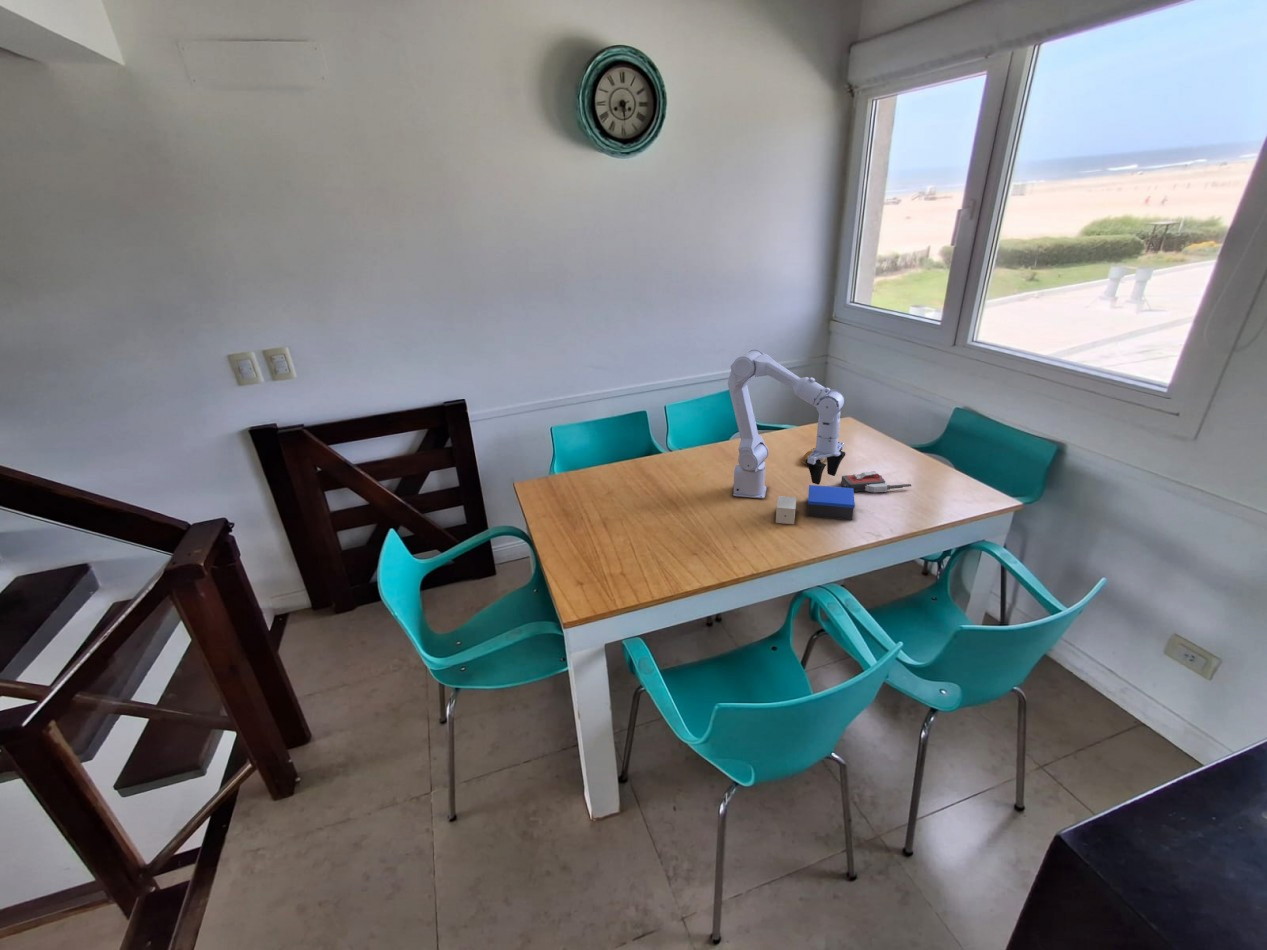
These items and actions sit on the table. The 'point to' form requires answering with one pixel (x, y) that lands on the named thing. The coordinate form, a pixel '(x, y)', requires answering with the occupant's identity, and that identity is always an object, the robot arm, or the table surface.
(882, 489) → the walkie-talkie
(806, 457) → the pastry
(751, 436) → the robot arm
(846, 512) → the container
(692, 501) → the table surface
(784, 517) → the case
